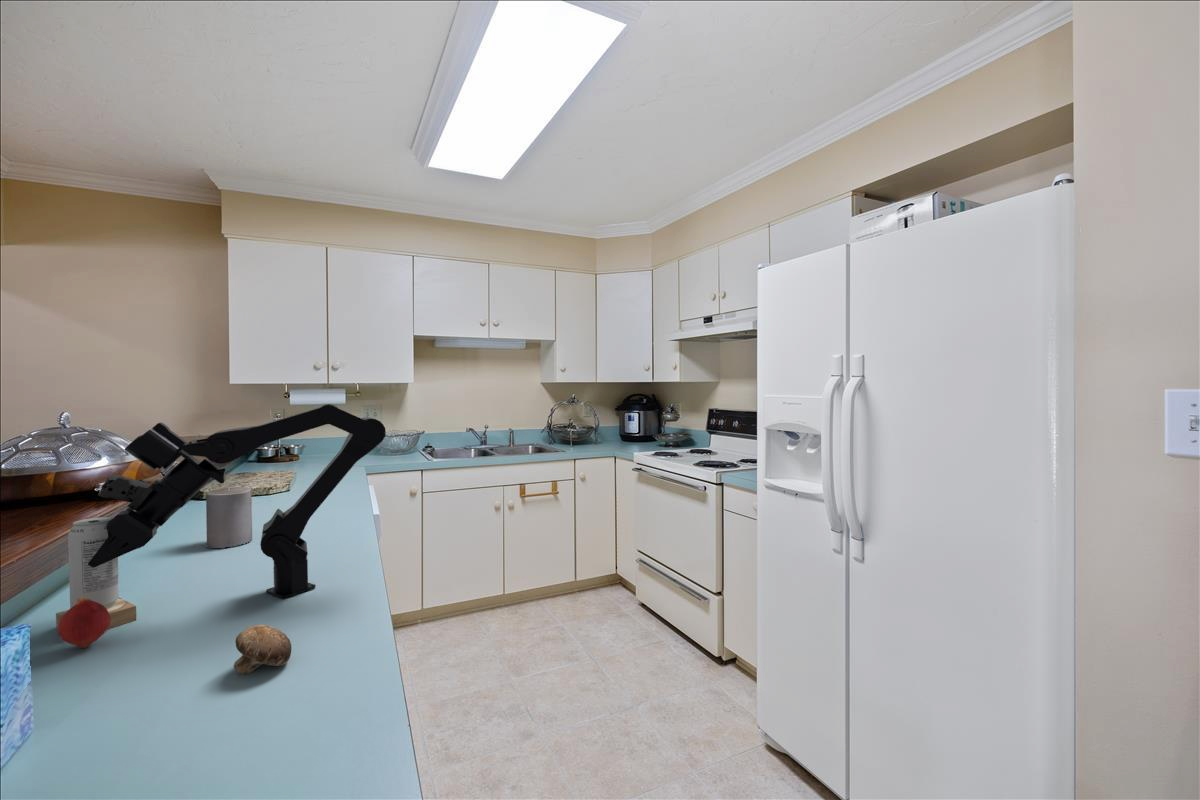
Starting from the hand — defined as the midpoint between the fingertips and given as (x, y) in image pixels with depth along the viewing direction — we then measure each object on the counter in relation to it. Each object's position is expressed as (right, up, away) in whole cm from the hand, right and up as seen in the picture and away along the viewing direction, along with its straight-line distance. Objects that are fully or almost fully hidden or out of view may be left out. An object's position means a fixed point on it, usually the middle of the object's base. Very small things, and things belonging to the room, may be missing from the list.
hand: (99, 558), depth 90 cm
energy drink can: (-1, -9, 0) cm, 9 cm away
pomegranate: (+5, -12, -8) cm, 15 cm away
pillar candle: (-10, -10, +46) cm, 48 cm away
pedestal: (0, -11, 0) cm, 11 cm away
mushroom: (+37, -12, -13) cm, 41 cm away
